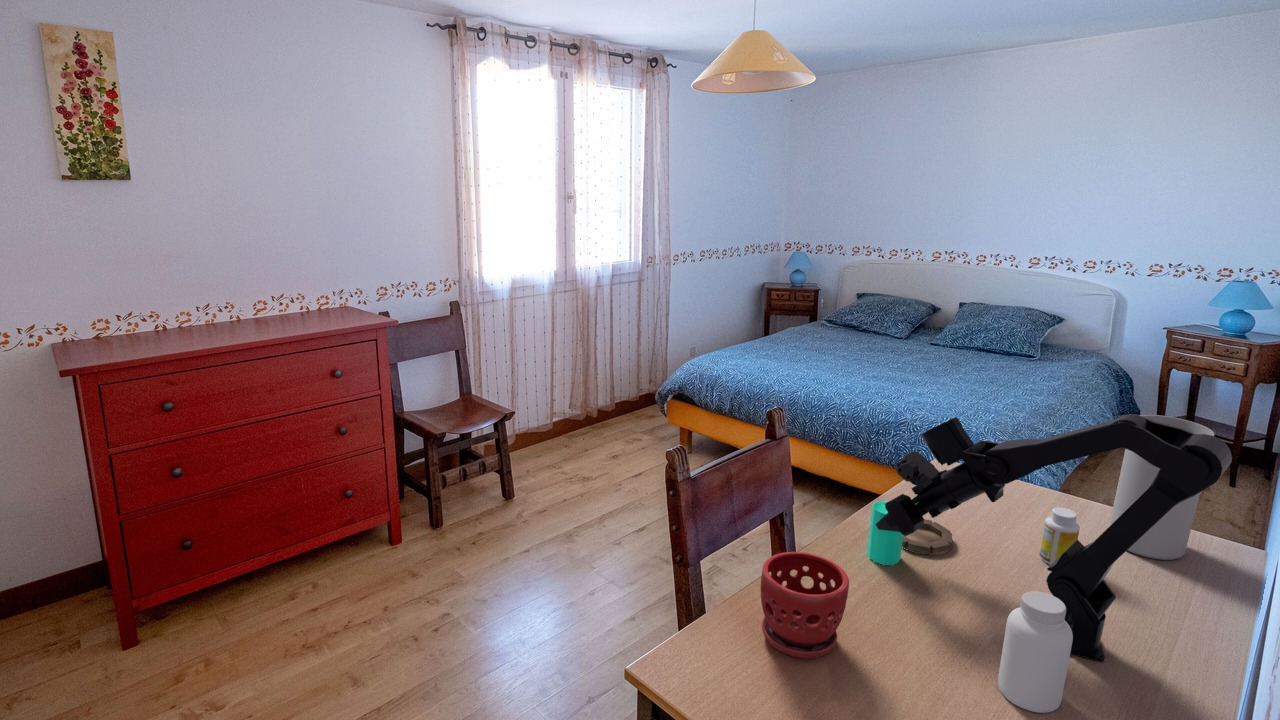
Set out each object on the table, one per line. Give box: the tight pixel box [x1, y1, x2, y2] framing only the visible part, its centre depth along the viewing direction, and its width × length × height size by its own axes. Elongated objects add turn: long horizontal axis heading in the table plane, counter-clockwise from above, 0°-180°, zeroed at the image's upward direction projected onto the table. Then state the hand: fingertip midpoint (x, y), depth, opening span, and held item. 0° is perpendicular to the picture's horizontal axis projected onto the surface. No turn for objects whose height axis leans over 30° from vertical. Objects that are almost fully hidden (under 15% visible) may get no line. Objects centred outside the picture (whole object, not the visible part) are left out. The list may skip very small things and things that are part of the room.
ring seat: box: [902, 518, 953, 556], centre depth 139 cm, size 12×12×2 cm
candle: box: [866, 500, 903, 566], centre depth 131 cm, size 6×6×12 cm
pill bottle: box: [997, 590, 1073, 714], centre depth 96 cm, size 8×8×15 cm
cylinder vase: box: [1108, 414, 1215, 561], centre depth 134 cm, size 12×12×25 cm
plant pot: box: [760, 551, 850, 659], centre depth 108 cm, size 13×13×12 cm
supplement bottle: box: [1039, 507, 1081, 566], centre depth 130 cm, size 6×6×10 cm
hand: (890, 518), depth 130 cm, fingers open, 9 cm apart
